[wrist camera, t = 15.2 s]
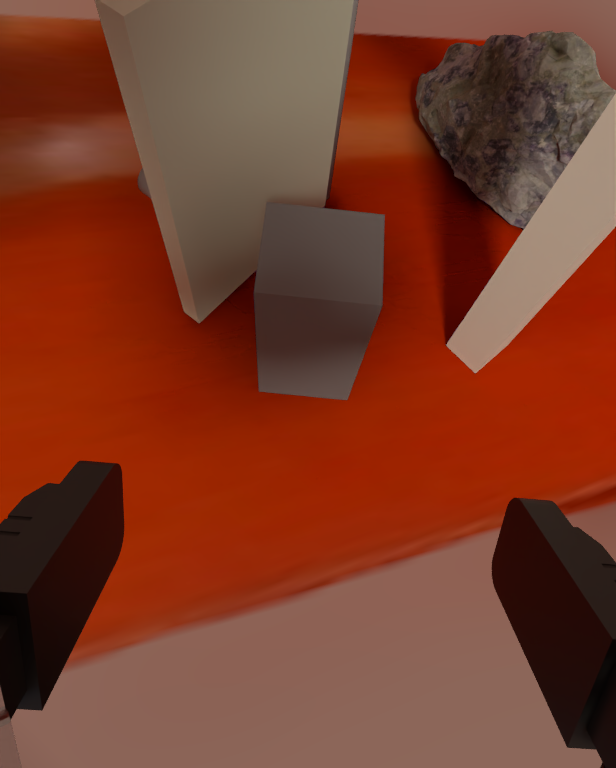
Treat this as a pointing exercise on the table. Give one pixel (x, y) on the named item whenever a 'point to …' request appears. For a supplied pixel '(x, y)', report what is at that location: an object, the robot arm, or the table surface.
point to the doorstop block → (316, 298)
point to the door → (229, 121)
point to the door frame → (546, 248)
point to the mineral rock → (513, 114)
